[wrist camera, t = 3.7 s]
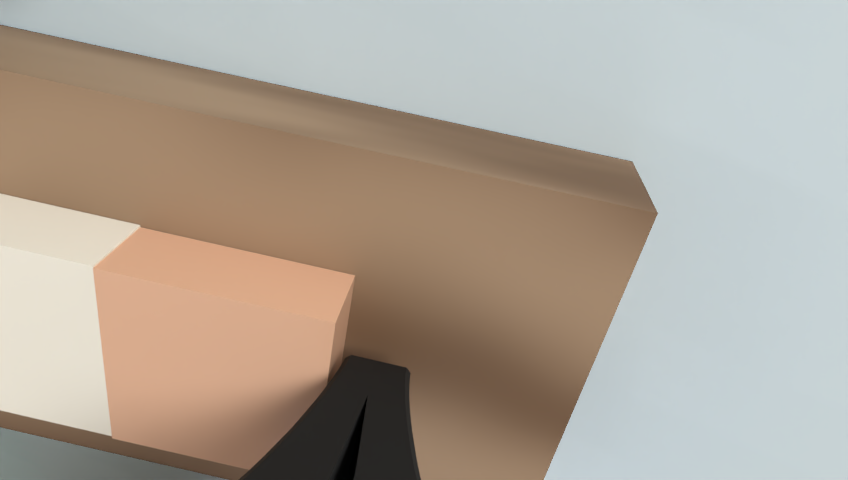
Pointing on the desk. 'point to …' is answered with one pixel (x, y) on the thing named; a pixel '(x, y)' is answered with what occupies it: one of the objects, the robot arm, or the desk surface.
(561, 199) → the walnut board
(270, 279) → the terracotta tile
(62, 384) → the cream tile
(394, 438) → the robot arm
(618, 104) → the desk surface
